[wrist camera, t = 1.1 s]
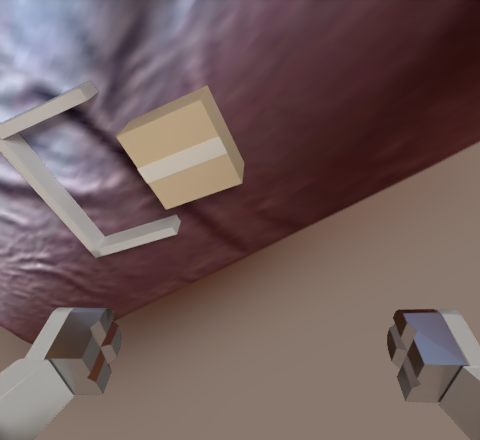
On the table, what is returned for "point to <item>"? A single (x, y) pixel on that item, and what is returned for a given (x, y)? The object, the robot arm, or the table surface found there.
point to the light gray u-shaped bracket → (55, 195)
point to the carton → (184, 149)
